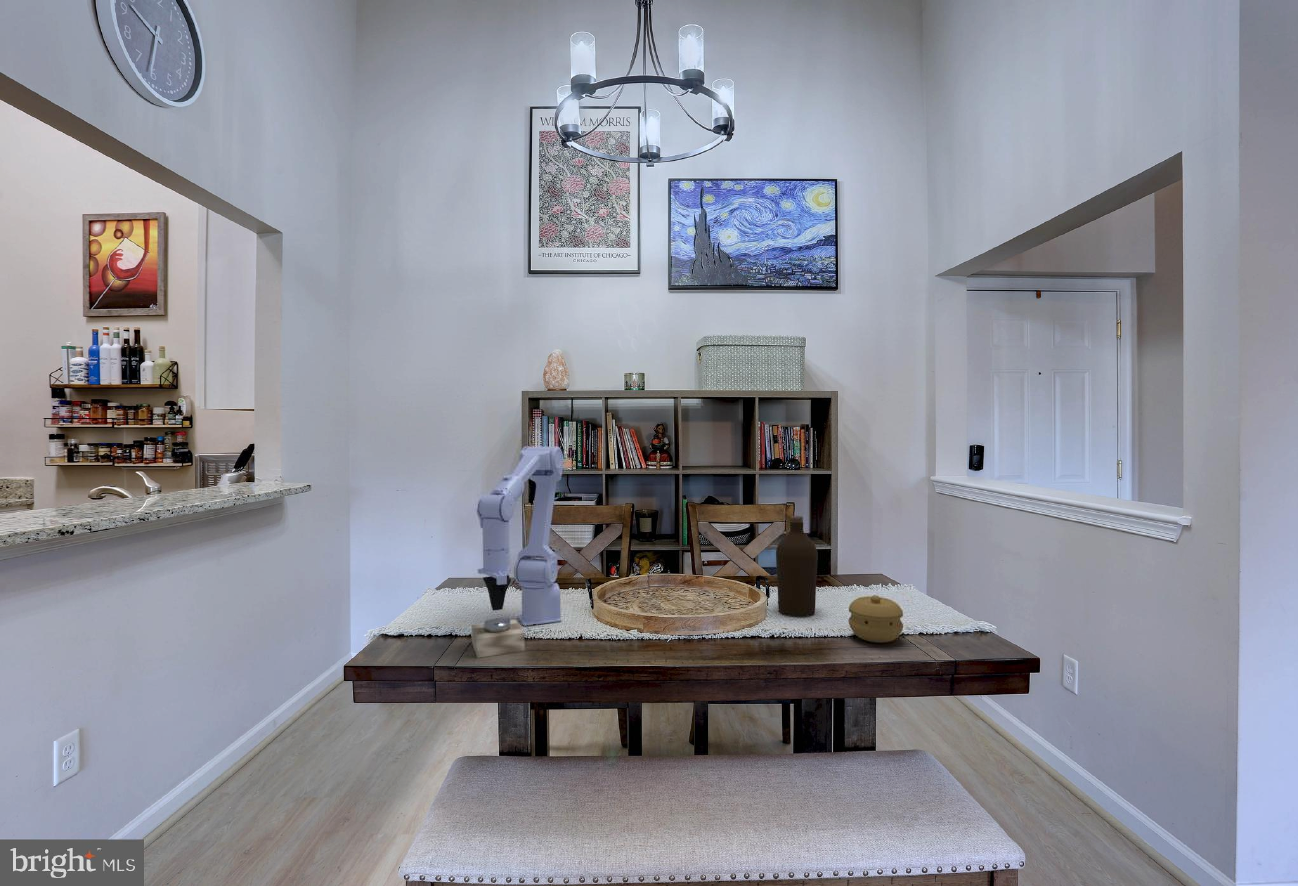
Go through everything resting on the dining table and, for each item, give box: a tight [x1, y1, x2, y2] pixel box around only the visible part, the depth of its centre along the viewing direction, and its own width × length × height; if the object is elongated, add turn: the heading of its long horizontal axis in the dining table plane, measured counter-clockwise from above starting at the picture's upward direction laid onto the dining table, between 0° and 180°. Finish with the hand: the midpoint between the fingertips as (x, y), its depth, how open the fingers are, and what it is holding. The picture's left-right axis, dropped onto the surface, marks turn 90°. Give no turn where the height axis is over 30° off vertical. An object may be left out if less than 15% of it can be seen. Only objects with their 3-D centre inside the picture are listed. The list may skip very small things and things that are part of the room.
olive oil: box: [775, 515, 819, 618], centre depth 161 cm, size 11×11×25 cm
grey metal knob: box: [483, 617, 511, 633], centre depth 137 cm, size 6×6×5 cm
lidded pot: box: [847, 594, 904, 644], centre depth 140 cm, size 12×12×10 cm
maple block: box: [471, 618, 526, 658], centre depth 137 cm, size 10×10×4 cm
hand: (497, 609), depth 137 cm, fingers closed
